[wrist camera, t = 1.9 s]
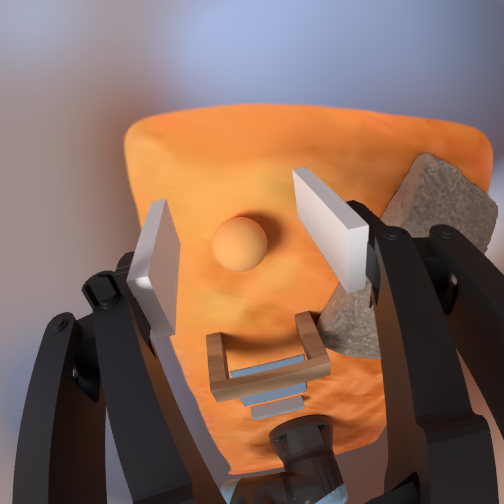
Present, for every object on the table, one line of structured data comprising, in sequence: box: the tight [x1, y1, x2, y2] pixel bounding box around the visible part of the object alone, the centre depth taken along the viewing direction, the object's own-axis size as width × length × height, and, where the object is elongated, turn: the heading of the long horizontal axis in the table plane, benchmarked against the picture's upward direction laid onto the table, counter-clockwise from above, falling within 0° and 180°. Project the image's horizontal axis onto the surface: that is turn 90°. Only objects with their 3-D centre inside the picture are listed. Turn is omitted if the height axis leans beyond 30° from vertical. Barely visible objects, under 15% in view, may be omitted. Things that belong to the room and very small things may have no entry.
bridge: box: [206, 311, 331, 402], centre depth 38 cm, size 3×14×9 cm, turn 99°
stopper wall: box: [251, 395, 305, 420], centre depth 53 cm, size 1×10×2 cm, turn 99°
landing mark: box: [230, 354, 306, 406], centre depth 49 cm, size 12×12×1 cm
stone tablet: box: [316, 153, 498, 359], centre depth 37 cm, size 20×8×30 cm
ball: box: [212, 217, 267, 272], centre depth 31 cm, size 6×6×6 cm
